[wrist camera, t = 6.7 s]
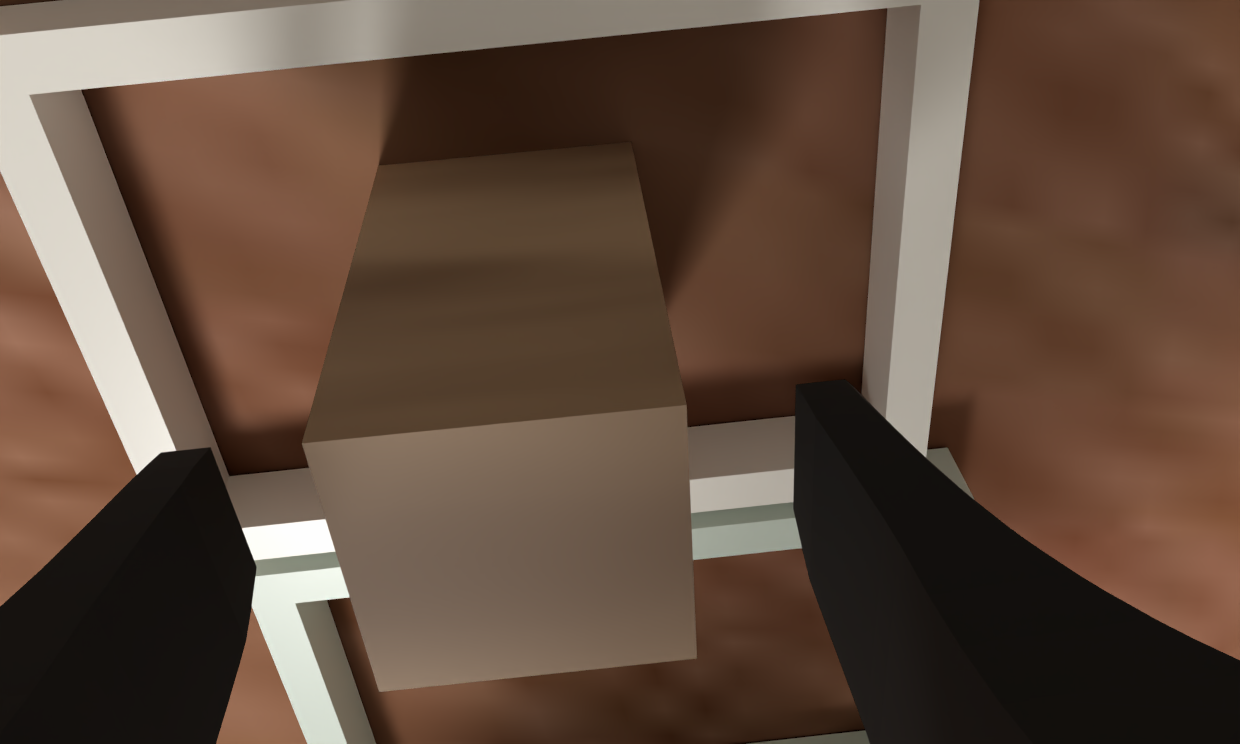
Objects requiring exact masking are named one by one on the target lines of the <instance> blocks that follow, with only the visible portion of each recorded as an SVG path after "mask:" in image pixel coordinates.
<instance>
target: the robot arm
mask: <svg viewBox="0 0 1240 744" xmlns="http://www.w3.org/2000/svg"><path fill="white" fill-rule="evenodd" d="M793 510H794V515H795V519H796V523H797V528H798V532H799V537H800V541H801V546H802V550H803V554H804V558H805V562H806V566H807V570H808V575H809V579H810V582H811V585H812V587H813V590H814V593H815V596H816V598H817V601H818V604H819V607H820V609H821V612H822V615H823V618H824V620H825V623H826V626H827V628H828V631H829V634H830V637H831V639H832V642H833V645H834V647H835V650H836V653H837V655H838V658H839V661H840V663H841V666H842V669H843V671H844V674H845V677H846V680H847V682H848V685H849V688H850V690H851V693H852V696H853V698H854V701H855V704H856V706H857V709H858V712H859V714H860V717H861V720H862V722H863V725H864V728H865V730H866V733H867V736H868V740H869V743H870V744H1240V660H1238V659H1236V658H1233V657H1231V656H1229V655H1227V654H1225V653H1223V652H1221V651H1219V650H1216V649H1214V648H1212V647H1210V646H1208V645H1206V644H1204V643H1201V642H1199V641H1197V640H1195V639H1193V638H1191V637H1189V636H1187V635H1185V634H1183V633H1181V632H1179V631H1177V630H1175V629H1173V628H1171V627H1169V626H1168V625H1166V624H1164V623H1162V622H1160V621H1158V620H1156V619H1154V618H1152V617H1150V616H1149V615H1147V614H1145V613H1143V612H1142V611H1140V610H1138V609H1136V608H1134V607H1133V606H1131V605H1129V604H1127V603H1126V602H1124V601H1122V600H1120V599H1118V598H1117V597H1115V596H1113V595H1111V594H1110V593H1108V592H1106V591H1104V590H1103V589H1101V588H1099V587H1098V586H1096V585H1094V584H1093V583H1091V582H1089V581H1088V580H1086V579H1084V578H1083V577H1081V576H1080V575H1078V574H1076V573H1075V572H1073V571H1072V570H1070V569H1069V568H1067V567H1066V566H1064V565H1063V564H1061V563H1060V562H1058V561H1057V560H1055V559H1054V558H1052V557H1051V556H1049V555H1048V554H1046V553H1045V552H1043V551H1042V550H1040V549H1039V548H1037V547H1036V546H1034V545H1033V544H1031V543H1030V542H1028V541H1027V540H1026V539H1024V538H1023V537H1021V536H1020V535H1019V534H1017V533H1016V532H1015V531H1013V530H1012V529H1010V528H1009V527H1008V526H1006V525H1005V524H1004V523H1003V522H1001V521H1000V520H999V519H998V518H996V517H995V516H994V515H993V514H991V513H990V512H989V511H987V510H986V509H985V508H984V507H982V506H981V505H980V504H979V503H977V502H976V501H975V500H974V499H973V498H971V497H970V496H969V495H968V494H967V493H966V492H964V491H963V490H962V489H961V488H960V487H958V486H957V485H956V484H955V483H954V482H953V481H952V480H951V479H949V478H948V477H947V476H946V475H945V474H944V473H943V472H942V471H940V470H939V469H938V468H937V467H936V466H935V465H934V464H933V463H931V462H930V461H929V460H928V459H927V458H926V457H925V456H924V455H923V454H922V453H920V452H919V451H918V450H917V449H916V448H915V447H914V446H913V445H912V444H911V443H910V442H909V441H908V440H907V439H906V438H905V437H904V436H903V435H902V434H901V433H899V432H898V431H897V430H896V429H895V428H894V427H893V426H892V425H891V424H890V423H889V422H888V421H887V420H886V419H885V418H884V417H883V416H882V415H881V414H880V413H879V412H878V411H877V410H876V409H875V408H874V407H873V406H872V405H871V404H870V403H869V402H868V401H867V400H866V399H865V398H864V397H863V396H862V395H861V394H860V393H859V392H858V391H857V390H856V389H855V388H854V387H853V386H852V385H851V384H850V383H849V382H848V381H846V380H845V379H844V380H834V381H825V382H816V383H806V384H797V385H796V402H795V449H794V495H793ZM256 569H257V567H256V564H255V561H254V559H253V556H252V554H251V551H250V548H249V546H248V543H247V541H246V538H245V535H244V533H243V530H242V528H241V525H240V522H239V520H238V517H237V515H236V512H235V509H234V507H233V504H232V502H231V499H230V496H229V494H228V491H227V489H226V486H225V483H224V481H223V478H222V476H221V473H220V470H219V468H218V465H217V463H216V460H215V457H214V455H213V452H212V450H211V447H207V448H198V449H189V450H179V451H170V452H161V453H160V454H159V455H157V456H156V457H155V458H154V459H153V460H152V461H151V462H150V463H149V464H148V465H146V466H145V467H144V468H143V469H142V470H141V471H140V472H139V473H138V474H137V475H136V476H135V477H134V478H133V479H132V480H131V481H130V482H129V483H128V484H127V485H126V486H125V487H124V488H123V489H122V490H121V491H120V492H119V493H118V494H117V495H116V496H115V497H114V498H113V499H112V500H111V501H110V502H109V503H108V504H107V505H106V506H105V507H104V508H103V509H102V510H101V511H100V512H99V513H98V514H97V515H96V516H95V517H94V518H93V519H92V520H91V521H90V522H89V523H88V524H87V525H86V526H85V527H84V528H83V529H82V530H81V531H80V532H79V533H78V534H77V535H76V536H75V537H74V538H73V539H72V540H71V541H70V542H69V543H68V544H67V545H66V546H65V547H64V548H63V549H62V550H61V551H60V552H59V553H58V554H57V555H56V556H55V557H54V558H53V559H52V560H51V561H50V562H49V563H48V564H46V565H45V566H44V567H43V568H42V569H41V570H40V571H39V572H38V573H37V574H36V575H35V576H34V577H33V578H31V579H30V580H29V581H28V582H27V583H26V584H25V585H24V586H23V587H22V588H20V589H19V590H18V591H17V592H16V593H15V594H14V595H13V596H12V597H10V598H9V599H8V600H7V601H6V602H5V603H4V604H3V605H2V606H1V607H0V744H216V741H217V738H218V735H219V731H220V728H221V725H222V721H223V718H224V715H225V712H226V708H227V705H228V702H229V698H230V695H231V691H232V688H233V685H234V681H235V678H236V674H237V671H238V667H239V664H240V660H241V657H242V653H243V650H244V646H245V642H246V637H247V631H248V625H249V619H250V613H251V607H252V599H253V592H254V584H255V577H256Z"/></svg>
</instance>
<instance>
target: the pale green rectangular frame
mask: <svg viewBox="0 0 1240 744" xmlns="http://www.w3.org/2000/svg"><path fill="white" fill-rule="evenodd" d="M926 458H927V459H928V460H929V461H930V462H931V463H933V464H934V465H935V466H936V467H937V468H938V469H939V470H940V471H942V472H943V473H944V474H945V475H946V476H947V477H948V478H949V479H951V480H952V481H953V482H954V483H955V484H956V485H957V486H958V487H960V488H961V489H962V490H963V491H964V492H966V493H967V494H968V495H969V496H970V497H971V498H973V499H974V497H973V495H972V493H971V492H970V490H969V488H968V486H967V484H966V482H965V480H964V478H963V476H962V474H961V472H960V470H959V468H958V467H957V465H956V463H955V461H954V459H953V457H952V455H951V453H950V451H949V449H948V448H939V449H929V450H927V454H926ZM691 525H692V549H693V560H697V559H707V558H716V557H725V556H734V555H743V554H752V553H762V552H771V551H780V550H789V549H798V548H802V546H801V541H800V537H799V532H798V528H797V523H796V519H795V515H794V510H793V502H789V503H780V504H770V505H761V506H752V507H743V508H734V509H724V510H715V511H706V512H697V513H691ZM254 561H255V564H256V567H257V569H256V577H255V584H254V592H253V599H252V608H253V610H254V613H255V615H256V618H257V620H258V623H259V625H260V628H261V630H262V633H263V635H264V638H265V640H266V643H267V645H268V647H269V650H270V652H271V655H272V657H273V660H274V662H275V665H276V667H277V670H278V672H279V675H280V677H281V680H282V682H283V685H284V687H285V689H286V692H287V694H288V697H289V699H290V702H291V704H292V707H293V709H294V712H295V714H296V717H297V719H298V722H299V724H300V727H301V729H302V731H303V734H304V736H305V739H306V741H307V744H376V742H375V739H374V736H373V733H372V730H371V727H370V724H369V722H368V719H367V716H366V713H365V710H364V707H363V704H362V701H361V698H360V695H359V692H358V690H357V687H356V684H355V681H354V678H353V675H352V672H351V669H350V666H349V663H348V660H347V658H346V655H345V652H344V649H343V646H342V643H341V640H340V637H339V634H338V631H337V628H336V626H335V623H334V620H333V617H332V614H331V611H330V608H329V605H328V602H327V600H330V599H339V598H348V597H349V593H348V590H347V587H346V584H345V581H344V577H343V574H342V571H341V568H340V565H339V561H338V558H337V555H336V552H327V553H318V554H308V555H299V556H290V557H281V558H271V559H262V560H254ZM748 744H870V743H869V740H868V736H867V733H866V730H864V731H855V732H846V733H838V734H829V735H820V736H811V737H802V738H793V739H784V740H775V741H766V742H757V743H748Z"/></svg>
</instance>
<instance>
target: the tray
mask: <svg viewBox="0 0 1240 744" xmlns="http://www.w3.org/2000/svg"><path fill="white" fill-rule="evenodd" d="M883 8H887V22H886V37H885V52H884V67H883V81H882V96H881V111H880V126H879V140H878V155H877V170H876V185H875V200H874V214H873V229H872V244H871V259H870V274H869V288H868V303H867V318H866V333H865V347H864V362H863V377H862V392H861V395H862V396H863V397H864V398H865V399H866V400H867V401H868V402H869V403H870V404H871V405H872V406H873V407H874V408H875V409H876V410H877V411H878V412H879V413H880V414H881V415H882V416H883V417H884V418H885V419H886V420H887V421H888V422H889V423H890V424H891V425H892V426H893V427H894V428H895V429H896V430H897V431H898V432H899V433H901V434H902V435H903V436H904V437H905V438H906V439H907V440H908V441H909V442H910V443H911V444H912V445H913V446H914V447H915V448H916V449H917V450H918V451H919V452H920V453H922V454H923V455H924V456H925V457H926V454H927V446H928V437H929V429H930V420H931V412H932V403H933V394H934V386H935V377H936V369H937V360H938V352H939V343H940V334H941V326H942V317H943V309H944V300H945V292H946V283H947V274H948V266H949V257H950V249H951V240H952V232H953V223H954V214H955V206H956V197H957V189H958V180H959V172H960V163H961V154H962V146H963V137H964V129H965V120H966V112H967V103H968V94H969V86H970V77H971V69H972V60H973V52H974V43H975V34H976V26H977V17H978V9H979V0H59V1H49V2H39V3H29V4H19V5H9V6H0V172H1V174H2V176H3V178H4V180H5V183H6V185H7V187H8V189H9V192H10V194H11V196H12V198H13V201H14V203H15V205H16V207H17V209H18V212H19V214H20V216H21V218H22V221H23V223H24V225H25V227H26V229H27V232H28V234H29V236H30V238H31V241H32V243H33V245H34V247H35V249H36V252H37V254H38V256H39V258H40V261H41V263H42V265H43V267H44V270H45V272H46V274H47V276H48V278H49V281H50V283H51V285H52V287H53V290H54V292H55V294H56V296H57V298H58V301H59V303H60V305H61V307H62V310H63V312H64V314H65V316H66V318H67V321H68V323H69V325H70V327H71V330H72V332H73V334H74V336H75V339H76V341H77V343H78V345H79V347H80V350H81V352H82V354H83V356H84V359H85V361H86V363H87V365H88V367H89V370H90V372H91V374H92V376H93V379H94V381H95V383H96V385H97V387H98V390H99V392H100V394H101V396H102V399H103V401H104V403H105V405H106V407H107V410H108V412H109V414H110V416H111V419H112V421H113V423H114V425H115V428H116V430H117V432H118V434H119V436H120V439H121V441H122V443H123V445H124V448H125V450H126V452H127V454H128V456H129V459H130V461H131V463H132V465H133V468H134V470H135V472H136V474H138V473H139V472H140V471H141V470H142V469H143V468H144V467H145V466H146V465H148V464H149V463H150V462H151V461H152V460H153V459H154V458H155V457H156V456H157V455H159V454H160V453H161V452H170V451H179V450H189V449H198V448H207V447H211V450H212V452H213V455H214V457H215V460H216V463H217V465H218V468H219V470H220V473H221V476H222V478H223V481H224V483H225V486H226V489H227V491H228V494H229V496H230V499H231V502H232V504H233V507H234V509H235V512H236V515H237V517H238V520H239V522H240V525H241V528H242V530H243V533H244V535H245V538H246V541H247V543H248V546H249V548H250V551H251V554H252V556H253V559H254V560H262V559H271V558H281V557H290V556H299V555H308V554H318V553H327V552H335V549H334V545H333V542H332V539H331V536H330V532H329V529H328V526H327V523H326V520H325V516H324V513H323V510H322V507H321V504H320V500H319V497H318V494H317V491H316V488H315V484H314V481H313V478H312V475H311V471H310V468H302V469H293V470H283V471H274V472H265V473H255V474H246V475H237V476H229V474H228V472H227V469H226V467H225V464H224V461H223V459H222V456H221V454H220V451H219V448H218V446H217V443H216V440H215V438H214V435H213V433H212V430H211V427H210V425H209V422H208V420H207V417H206V414H205V412H204V409H203V407H202V404H201V401H200V399H199V396H198V394H197V391H196V388H195V386H194V383H193V380H192V378H191V375H190V373H189V370H188V367H187V365H186V362H185V360H184V357H183V354H182V352H181V349H180V347H179V344H178V341H177V339H176V336H175V334H174V331H173V328H172V326H171V323H170V320H169V318H168V315H167V313H166V310H165V307H164V305H163V302H162V300H161V297H160V294H159V292H158V289H157V287H156V284H155V281H154V279H153V276H152V274H151V271H150V268H149V266H148V263H147V260H146V258H145V255H144V253H143V250H142V247H141V245H140V242H139V240H138V237H137V234H136V232H135V229H134V227H133V224H132V221H131V219H130V216H129V214H128V211H127V208H126V206H125V203H124V200H123V198H122V195H121V193H120V190H119V187H118V185H117V182H116V180H115V177H114V174H113V172H112V169H111V167H110V164H109V161H108V159H107V156H106V153H105V151H104V148H103V146H102V143H101V140H100V138H99V135H98V133H97V130H96V127H95V125H94V122H93V120H92V117H91V114H90V112H89V109H88V107H87V104H86V101H85V99H84V96H83V93H82V91H81V89H91V88H101V87H111V86H121V85H131V84H141V83H150V82H160V81H170V80H180V79H190V78H200V77H210V76H220V75H230V74H240V73H249V72H259V71H269V70H279V69H289V68H299V67H309V66H319V65H329V64H339V63H348V62H358V61H368V60H378V59H388V58H398V57H408V56H418V55H428V54H438V53H447V52H457V51H467V50H477V49H487V48H497V47H507V46H517V45H527V44H537V43H547V42H556V41H566V40H576V39H586V38H596V37H606V36H616V35H626V34H636V33H646V32H655V31H665V30H675V29H685V28H695V27H705V26H715V25H725V24H735V23H745V22H754V21H764V20H774V19H784V18H794V17H804V16H814V15H824V14H834V13H844V12H853V11H863V10H873V9H883ZM794 449H795V416H789V417H779V418H770V419H761V420H751V421H742V422H732V423H723V424H714V425H704V426H695V427H688V451H689V476H690V500H691V513H697V512H706V511H715V510H724V509H734V508H743V507H752V506H761V505H770V504H780V503H789V502H793V495H794Z"/></svg>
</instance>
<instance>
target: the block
mask: <svg viewBox="0 0 1240 744" xmlns="http://www.w3.org/2000/svg"><path fill="white" fill-rule="evenodd" d="M302 446H303V449H304V452H305V455H306V459H307V462H308V465H309V468H310V471H311V475H312V478H313V481H314V484H315V488H316V491H317V494H318V497H319V500H320V504H321V507H322V510H323V513H324V516H325V520H326V523H327V526H328V529H329V532H330V536H331V539H332V542H333V545H334V549H335V552H336V555H337V558H338V561H339V565H340V568H341V571H342V574H343V577H344V581H345V584H346V587H347V590H348V593H349V597H350V600H351V603H352V606H353V609H354V613H355V616H356V619H357V622H358V626H359V629H360V632H361V635H362V638H363V642H364V645H365V648H366V651H367V654H368V658H369V661H370V664H371V667H372V670H373V674H374V677H375V680H376V683H377V687H378V690H379V692H384V691H393V690H403V689H412V688H422V687H431V686H441V685H450V684H460V683H469V682H479V681H488V680H498V679H507V678H517V677H526V676H536V675H545V674H555V673H564V672H574V671H583V670H593V669H602V668H612V667H621V666H631V665H640V664H650V663H659V662H669V661H678V660H688V659H697V647H696V622H695V598H694V574H693V549H692V525H691V500H690V476H689V451H688V427H687V404H686V400H685V395H684V390H683V385H682V381H681V376H680V371H679V366H678V362H677V357H676V352H675V347H674V343H673V338H672V333H671V328H670V324H669V319H668V314H667V309H666V305H665V300H664V295H663V290H662V286H661V281H660V276H659V271H658V267H657V262H656V257H655V252H654V248H653V243H652V238H651V233H650V229H649V224H648V219H647V214H646V210H645V205H644V200H643V195H642V191H641V186H640V181H639V176H638V172H637V167H636V162H635V157H634V153H633V148H632V143H631V142H623V143H612V144H602V145H591V146H581V147H570V148H559V149H549V150H538V151H528V152H517V153H506V154H496V155H485V156H475V157H464V158H454V159H443V160H432V161H422V162H411V163H401V164H390V165H379V166H378V169H377V173H376V177H375V180H374V184H373V187H372V191H371V195H370V198H369V202H368V206H367V209H366V213H365V216H364V220H363V224H362V227H361V231H360V235H359V238H358V242H357V245H356V249H355V253H354V256H353V260H352V263H351V267H350V271H349V274H348V278H347V282H346V285H345V289H344V292H343V296H342V300H341V303H340V307H339V311H338V314H337V318H336V321H335V325H334V329H333V332H332V336H331V340H330V343H329V347H328V350H327V354H326V358H325V361H324V365H323V368H322V372H321V376H320V379H319V383H318V387H317V390H316V394H315V397H314V401H313V405H312V408H311V412H310V416H309V419H308V423H307V426H306V430H305V434H304V437H303V441H302Z"/></svg>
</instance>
